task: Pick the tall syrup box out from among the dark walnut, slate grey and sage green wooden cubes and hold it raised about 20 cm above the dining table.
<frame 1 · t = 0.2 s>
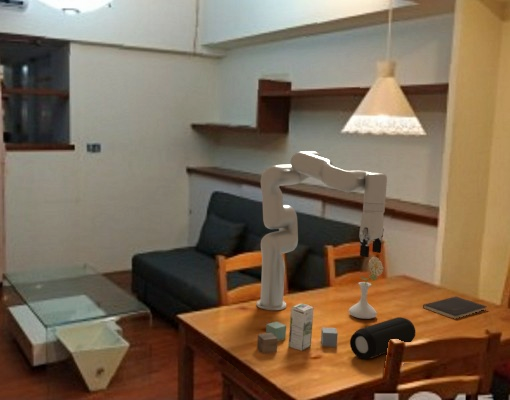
hand: (370, 254, 191), 31 cm above the table, tool pointing down, fingers open, 9 cm apart
walnut cube: (266, 350, 180), on the table
slate grey cube: (328, 343, 188), on the table
portable speaker: (382, 351, 184), on the table
flower in vase: (364, 316, 217), on the table
sage green cube: (275, 338, 191), on the table
hardcover book: (454, 310, 231), on the table
syrup box: (299, 347, 184), on the table
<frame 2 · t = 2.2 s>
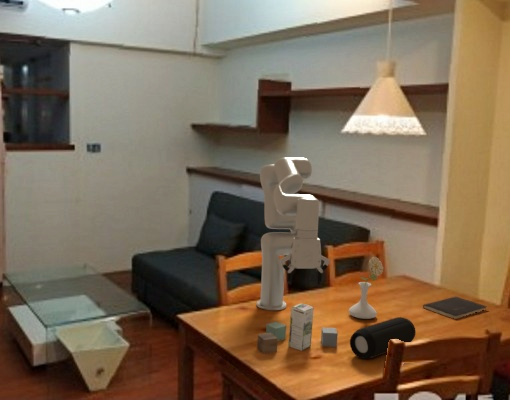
hand: (303, 283, 181), 23 cm above the table, tool pointing down, fingers open, 9 cm apart
nothing on the table moved.
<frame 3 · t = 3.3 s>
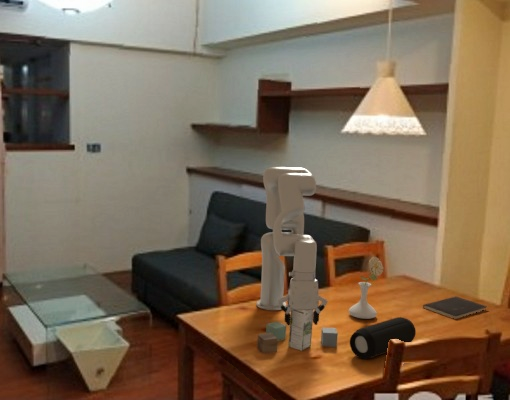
hand: (301, 323, 183), 8 cm above the table, tool pointing down, fingers open, 9 cm apart
nothing on the table moved.
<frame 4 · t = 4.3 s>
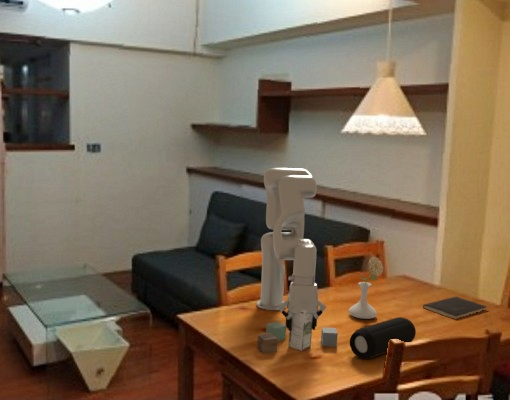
hand: (300, 328, 183), 7 cm above the table, tool pointing down, fingers closed on syrup box, 8 cm apart
syrup box: (299, 347, 184), on the table, touching gripper
everything else where it was.
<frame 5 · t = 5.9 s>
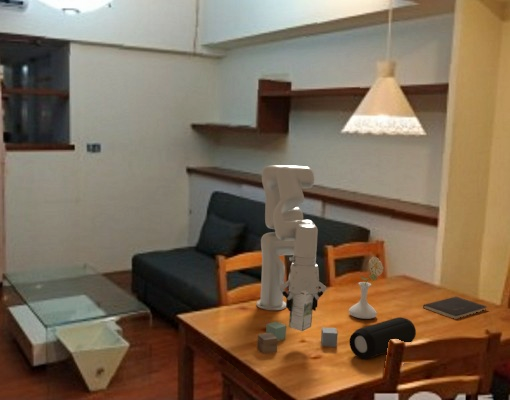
hand: (301, 309, 183), 13 cm above the table, tool pointing down, fingers closed on syrup box, 8 cm apart
syrup box: (300, 327, 184), point 6 cm above the table, touching gripper
everything else where it was.
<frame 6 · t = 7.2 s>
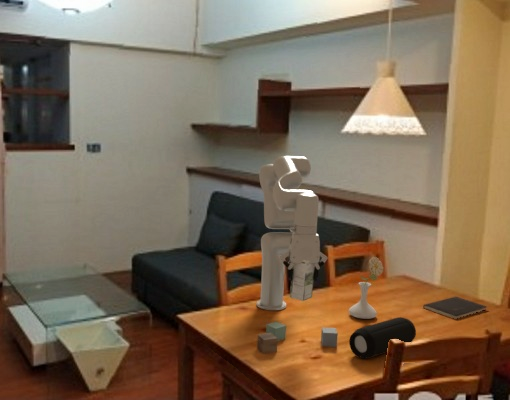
hand: (302, 279, 183), 24 cm above the table, tool pointing down, fingers closed on syrup box, 8 cm apart
syrup box: (301, 298, 184), point 17 cm above the table, touching gripper
everything else where it was.
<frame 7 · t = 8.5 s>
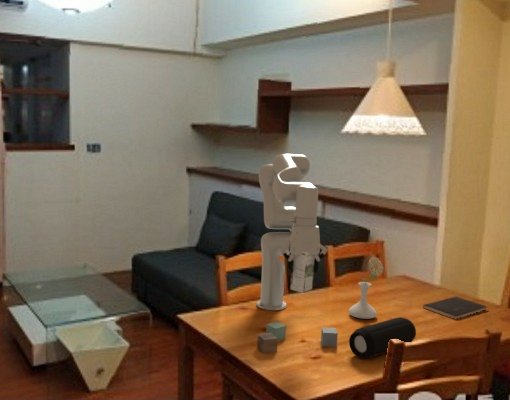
hand: (302, 271, 183), 26 cm above the table, tool pointing down, fingers closed on syrup box, 8 cm apart
syrup box: (301, 290, 184), point 20 cm above the table, touching gripper
everything else where it was.
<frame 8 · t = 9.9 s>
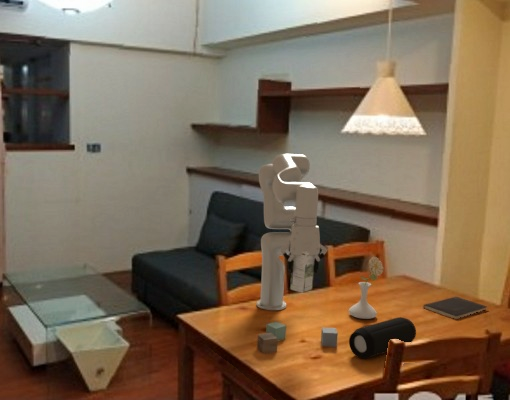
hand: (302, 271, 183), 26 cm above the table, tool pointing down, fingers closed on syrup box, 8 cm apart
syrup box: (301, 290, 184), point 20 cm above the table, touching gripper
everything else where it was.
at the end: the gripper is holding syrup box; syrup box point 19.5 cm above the table; sage green cube moved 0.1 cm from its start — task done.
